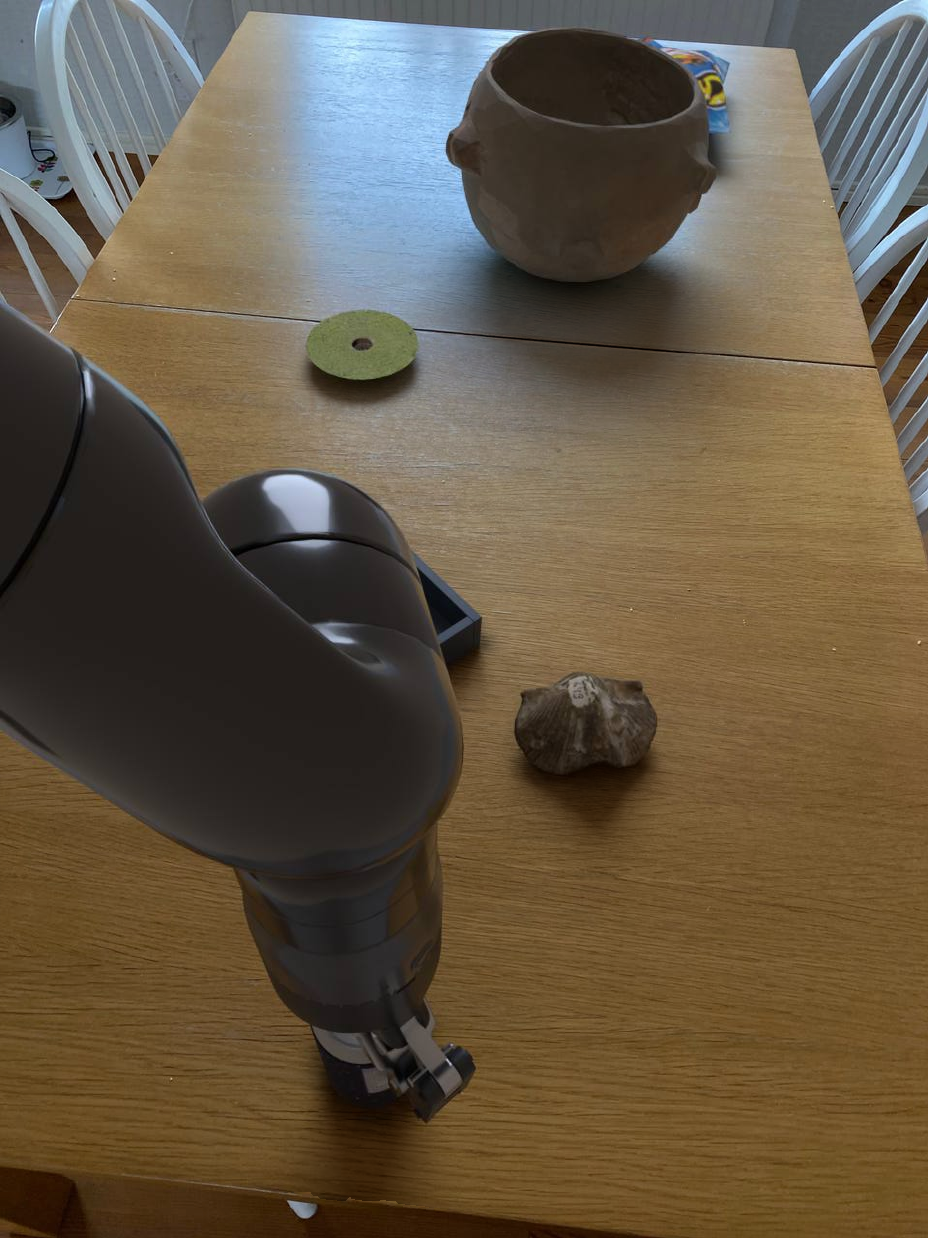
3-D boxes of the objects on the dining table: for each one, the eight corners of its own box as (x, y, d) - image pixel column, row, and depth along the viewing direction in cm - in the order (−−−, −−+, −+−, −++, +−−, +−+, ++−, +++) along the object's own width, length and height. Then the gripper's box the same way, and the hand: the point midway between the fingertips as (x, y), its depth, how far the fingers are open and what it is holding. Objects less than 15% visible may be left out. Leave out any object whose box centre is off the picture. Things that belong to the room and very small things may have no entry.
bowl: (691, 205, 118) (733, 25, 102) (683, 345, 101) (731, 155, 85) (473, 178, 120) (480, -2, 104) (428, 310, 103) (428, 119, 87)
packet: (592, 157, 124) (603, 88, 118) (603, 77, 139) (613, 11, 132) (726, 172, 123) (744, 103, 117) (723, 89, 138) (739, 24, 131)
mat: (439, 347, 99) (439, 331, 98) (380, 408, 93) (379, 392, 91) (348, 313, 102) (346, 297, 101) (285, 370, 96) (283, 353, 95)
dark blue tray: (270, 784, 68) (263, 759, 65) (173, 662, 74) (163, 634, 71) (480, 644, 76) (482, 617, 73) (376, 544, 82) (375, 515, 79)
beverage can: (414, 1002, 59) (412, 933, 50) (428, 1102, 56) (428, 1049, 46) (322, 1017, 58) (302, 951, 49) (330, 1119, 55) (310, 1069, 46)
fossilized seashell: (659, 678, 72) (526, 670, 74) (659, 671, 65) (513, 663, 67) (654, 780, 71) (520, 769, 73) (654, 783, 64) (506, 771, 66)
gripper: (170, 829, 40) (235, 962, 53) (381, 1129, 33) (394, 1195, 46) (321, 730, 43) (346, 879, 56) (540, 986, 36) (510, 1086, 49)
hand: (368, 1022), depth 51 cm, fingers open, 6 cm apart
